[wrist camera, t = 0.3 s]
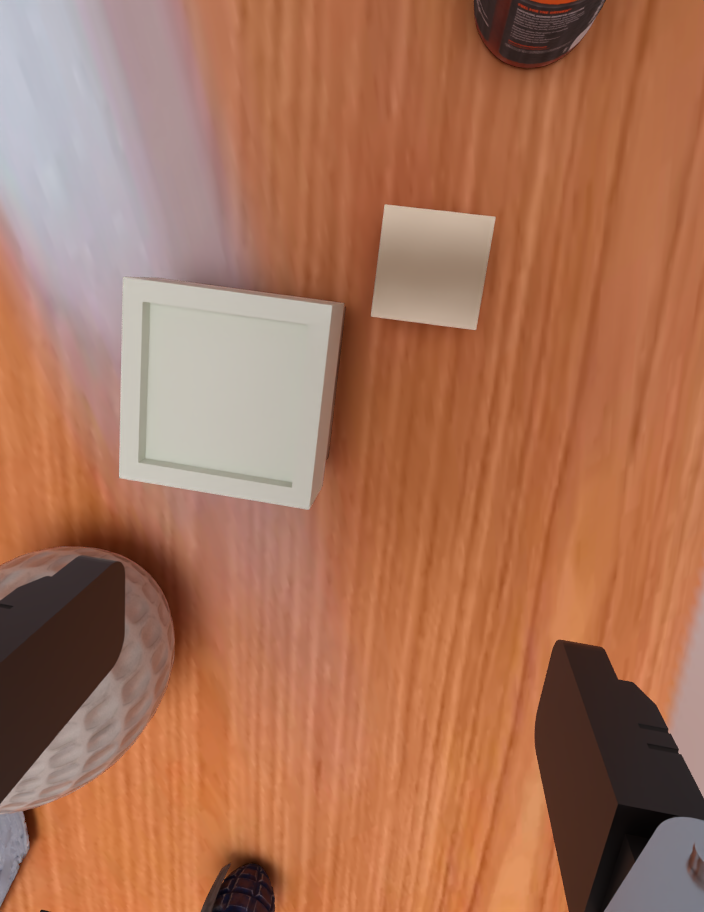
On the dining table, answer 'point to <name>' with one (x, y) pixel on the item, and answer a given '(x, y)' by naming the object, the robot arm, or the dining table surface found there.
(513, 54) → the supplement bottle
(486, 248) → the maple cube
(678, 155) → the dining table surface
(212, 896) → the hand grenade
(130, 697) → the vase
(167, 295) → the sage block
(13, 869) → the food plate
